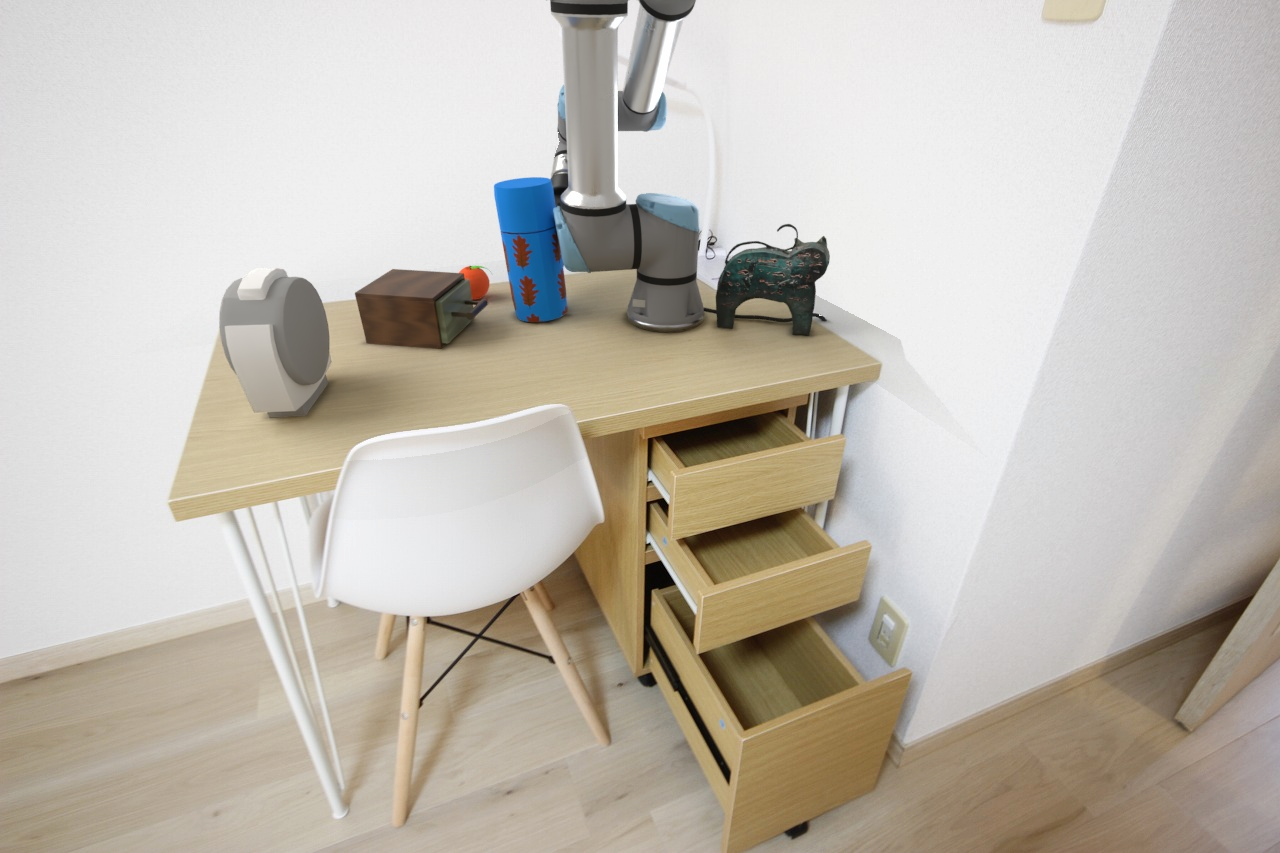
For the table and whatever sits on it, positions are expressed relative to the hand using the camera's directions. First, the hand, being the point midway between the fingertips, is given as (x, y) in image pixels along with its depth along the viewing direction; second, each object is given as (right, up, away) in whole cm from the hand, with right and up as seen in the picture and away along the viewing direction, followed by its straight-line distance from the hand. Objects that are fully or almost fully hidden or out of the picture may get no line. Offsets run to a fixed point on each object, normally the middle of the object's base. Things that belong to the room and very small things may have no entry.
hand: (551, 282), depth 134 cm
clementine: (-16, -3, +5) cm, 17 cm away
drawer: (-20, -11, -12) cm, 26 cm away
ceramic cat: (+43, -12, -10) cm, 45 cm away
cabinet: (-23, -12, -11) cm, 28 cm away
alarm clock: (-34, -26, -34) cm, 55 cm away
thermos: (-1, -7, -3) cm, 8 cm away
